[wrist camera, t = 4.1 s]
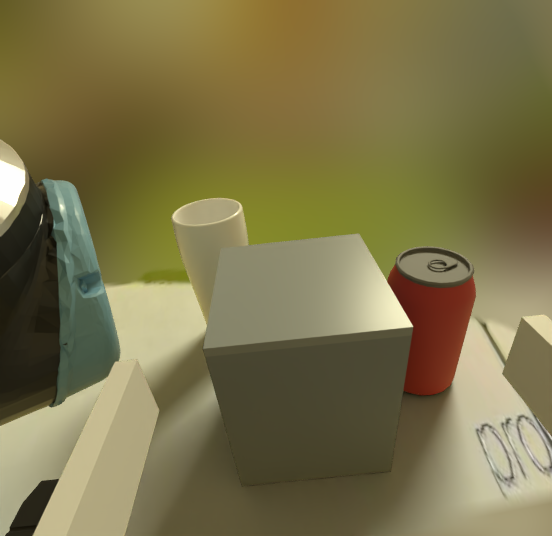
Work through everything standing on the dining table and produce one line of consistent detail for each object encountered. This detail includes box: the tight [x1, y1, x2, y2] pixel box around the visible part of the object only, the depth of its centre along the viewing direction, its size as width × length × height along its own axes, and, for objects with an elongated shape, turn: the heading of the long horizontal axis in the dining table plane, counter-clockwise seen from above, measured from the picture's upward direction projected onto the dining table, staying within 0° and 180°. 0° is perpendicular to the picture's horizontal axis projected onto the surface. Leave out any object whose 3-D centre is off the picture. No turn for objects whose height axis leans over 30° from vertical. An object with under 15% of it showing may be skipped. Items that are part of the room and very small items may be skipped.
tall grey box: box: [203, 234, 413, 486], centre depth 26 cm, size 11×11×14 cm
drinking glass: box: [172, 198, 249, 325], centre depth 36 cm, size 7×7×15 cm
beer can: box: [387, 246, 476, 395], centre depth 30 cm, size 7×7×12 cm
